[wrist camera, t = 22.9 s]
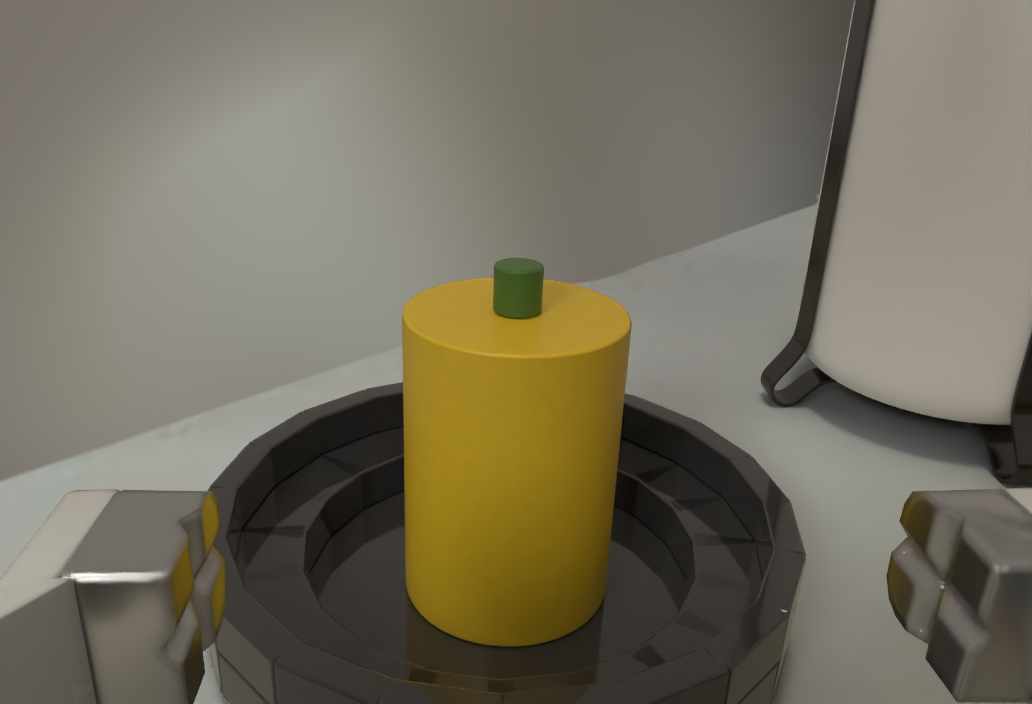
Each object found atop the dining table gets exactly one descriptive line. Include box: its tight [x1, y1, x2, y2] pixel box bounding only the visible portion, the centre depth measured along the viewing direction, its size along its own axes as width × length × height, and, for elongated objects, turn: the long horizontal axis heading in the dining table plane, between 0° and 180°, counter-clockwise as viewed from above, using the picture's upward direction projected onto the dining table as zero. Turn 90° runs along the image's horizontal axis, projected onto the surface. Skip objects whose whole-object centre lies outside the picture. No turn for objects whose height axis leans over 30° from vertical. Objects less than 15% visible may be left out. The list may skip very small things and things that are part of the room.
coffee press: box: [761, 0, 1032, 483], centre depth 33 cm, size 17×16×30 cm
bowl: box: [207, 382, 806, 704], centre depth 24 cm, size 16×16×4 cm
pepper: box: [402, 258, 631, 647], centre depth 22 cm, size 6×6×9 cm
